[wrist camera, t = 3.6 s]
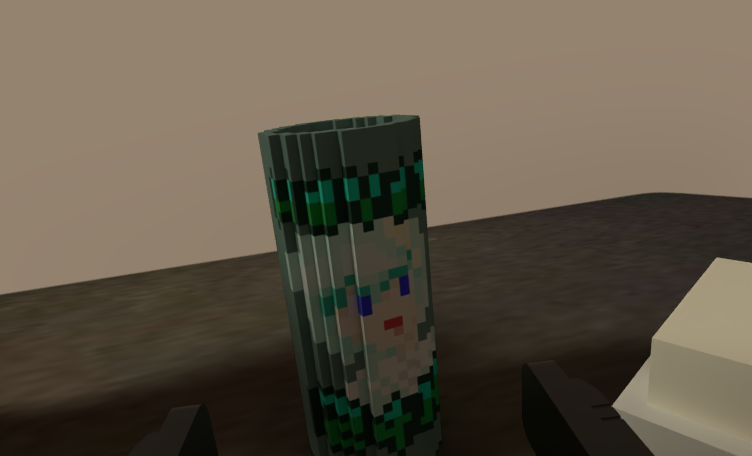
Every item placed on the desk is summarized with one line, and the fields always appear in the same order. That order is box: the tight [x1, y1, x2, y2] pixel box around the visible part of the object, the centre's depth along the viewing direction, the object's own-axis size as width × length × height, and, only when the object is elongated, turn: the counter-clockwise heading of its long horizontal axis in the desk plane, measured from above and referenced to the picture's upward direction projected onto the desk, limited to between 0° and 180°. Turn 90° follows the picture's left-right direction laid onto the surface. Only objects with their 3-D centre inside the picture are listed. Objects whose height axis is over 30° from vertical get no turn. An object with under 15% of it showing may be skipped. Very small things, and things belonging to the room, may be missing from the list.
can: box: [258, 115, 442, 456], centre depth 21 cm, size 6×6×15 cm
